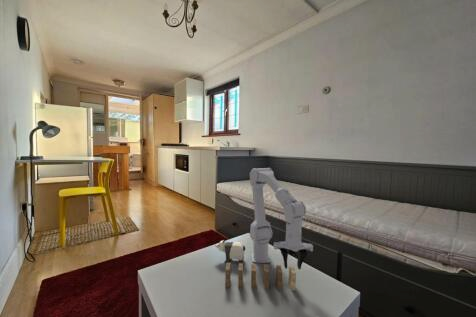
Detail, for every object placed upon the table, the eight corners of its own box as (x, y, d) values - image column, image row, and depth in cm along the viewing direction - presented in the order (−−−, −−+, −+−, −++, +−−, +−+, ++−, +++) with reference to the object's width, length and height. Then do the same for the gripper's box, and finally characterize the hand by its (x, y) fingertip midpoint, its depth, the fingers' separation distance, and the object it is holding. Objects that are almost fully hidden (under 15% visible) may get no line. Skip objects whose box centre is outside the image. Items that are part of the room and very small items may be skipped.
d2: (238, 280, 80) (239, 263, 80) (242, 280, 80) (243, 263, 80) (238, 287, 76) (238, 270, 76) (242, 287, 76) (242, 270, 76)
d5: (276, 282, 80) (276, 265, 79) (280, 282, 80) (280, 265, 79) (277, 289, 75) (278, 272, 75) (281, 290, 75) (282, 272, 75)
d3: (251, 280, 80) (251, 264, 80) (255, 281, 80) (255, 264, 80) (251, 288, 76) (251, 270, 75) (255, 288, 76) (255, 270, 75)
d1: (226, 279, 81) (226, 262, 80) (230, 279, 81) (230, 262, 80) (225, 287, 76) (225, 269, 76) (229, 287, 76) (229, 269, 76)
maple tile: (288, 282, 79) (289, 265, 79) (292, 282, 79) (293, 265, 79) (291, 290, 75) (291, 272, 75) (295, 290, 75) (295, 272, 75)
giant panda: (246, 259, 96) (246, 239, 95) (244, 265, 90) (244, 245, 90) (217, 255, 99) (217, 236, 98) (213, 261, 93) (213, 241, 93)
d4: (263, 281, 80) (263, 264, 80) (267, 281, 80) (267, 264, 80) (264, 289, 76) (264, 271, 75) (268, 289, 76) (269, 271, 75)
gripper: (275, 236, 73) (274, 272, 73) (316, 238, 72) (314, 274, 73) (273, 229, 80) (272, 261, 80) (310, 230, 79) (308, 263, 80)
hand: (292, 267), depth 77 cm, fingers open, 4 cm apart
